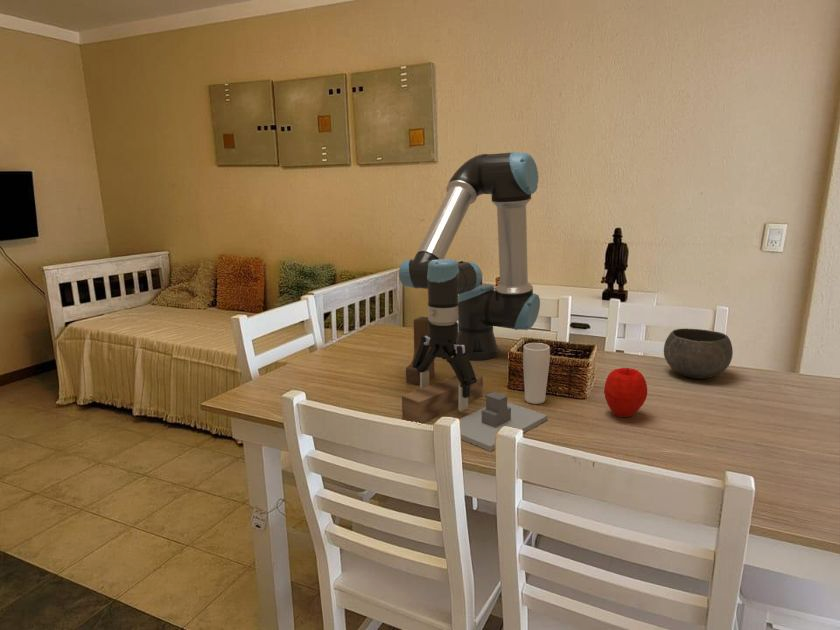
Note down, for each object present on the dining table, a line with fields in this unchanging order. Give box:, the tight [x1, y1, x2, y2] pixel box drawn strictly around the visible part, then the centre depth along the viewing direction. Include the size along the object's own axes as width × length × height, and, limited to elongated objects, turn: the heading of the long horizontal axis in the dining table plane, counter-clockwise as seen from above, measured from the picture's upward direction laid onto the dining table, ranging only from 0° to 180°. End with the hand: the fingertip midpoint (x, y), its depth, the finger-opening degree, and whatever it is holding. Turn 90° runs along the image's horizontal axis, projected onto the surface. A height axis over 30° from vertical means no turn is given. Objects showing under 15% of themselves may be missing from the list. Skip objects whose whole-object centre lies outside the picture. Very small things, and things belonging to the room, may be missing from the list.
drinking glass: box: [522, 342, 551, 405], centre depth 142 cm, size 7×7×15 cm
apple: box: [603, 367, 648, 418], centre depth 132 cm, size 10×10×12 cm
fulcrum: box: [459, 391, 549, 452], centre depth 128 cm, size 22×14×8 cm, turn 134°
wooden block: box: [405, 316, 436, 385], centre depth 159 cm, size 9×4×18 cm, turn 146°
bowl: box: [663, 328, 734, 380], centre depth 158 cm, size 18×18×13 cm
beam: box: [401, 373, 484, 424], centre depth 140 cm, size 24×6×6 cm, turn 134°
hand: (443, 401), depth 141 cm, fingers open, 13 cm apart
